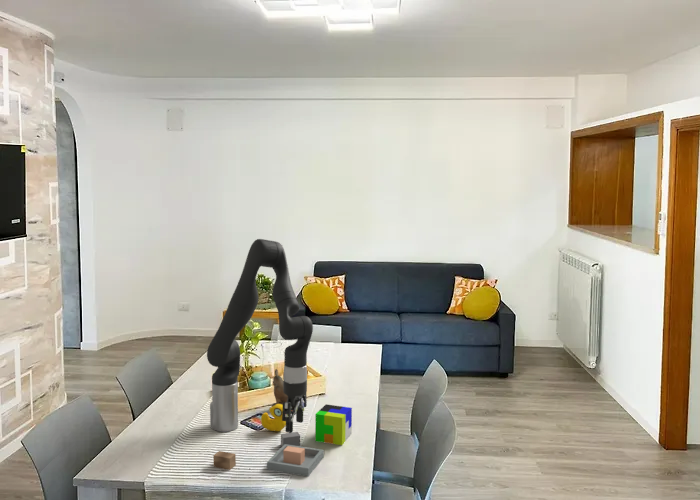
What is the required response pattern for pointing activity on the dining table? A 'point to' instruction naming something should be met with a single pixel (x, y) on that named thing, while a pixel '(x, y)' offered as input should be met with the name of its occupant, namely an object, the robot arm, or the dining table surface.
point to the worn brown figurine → (279, 390)
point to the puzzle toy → (333, 424)
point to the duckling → (274, 423)
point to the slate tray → (304, 469)
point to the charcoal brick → (290, 439)
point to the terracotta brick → (294, 455)
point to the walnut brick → (224, 460)
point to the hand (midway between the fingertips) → (294, 426)
